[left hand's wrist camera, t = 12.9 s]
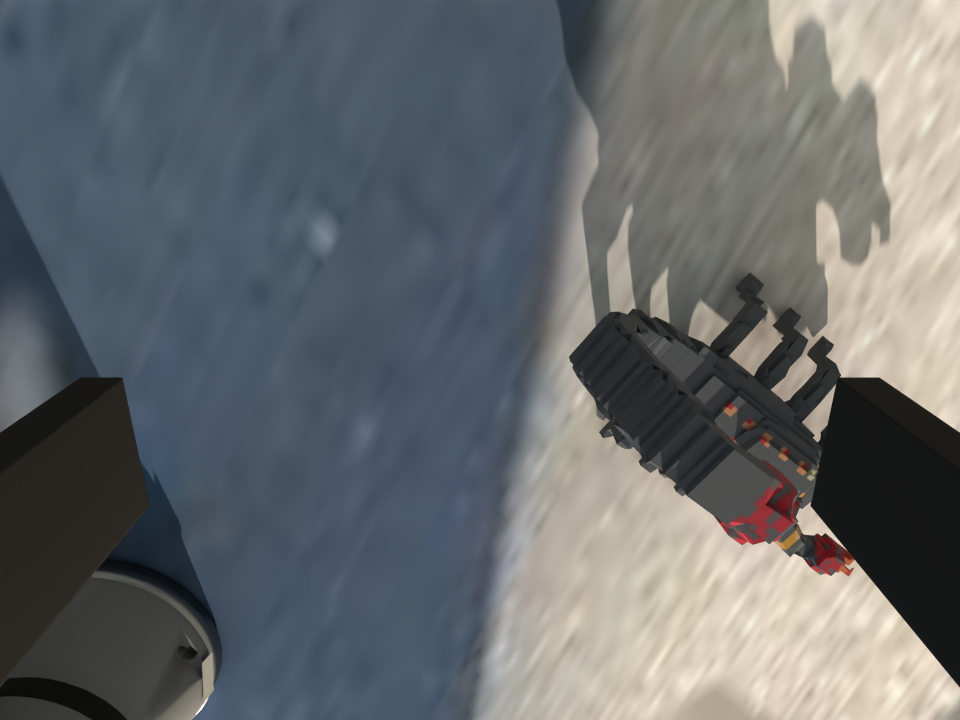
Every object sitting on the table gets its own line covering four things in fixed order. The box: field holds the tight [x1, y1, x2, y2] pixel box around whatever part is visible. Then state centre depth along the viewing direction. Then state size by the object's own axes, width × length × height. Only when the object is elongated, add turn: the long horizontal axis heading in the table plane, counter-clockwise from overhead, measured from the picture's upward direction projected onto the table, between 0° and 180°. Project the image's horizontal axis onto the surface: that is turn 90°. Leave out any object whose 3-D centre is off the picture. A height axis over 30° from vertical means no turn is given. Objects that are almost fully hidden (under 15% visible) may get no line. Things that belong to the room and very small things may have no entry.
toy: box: [569, 273, 855, 576], centre depth 33 cm, size 13×27×18 cm, turn 52°
